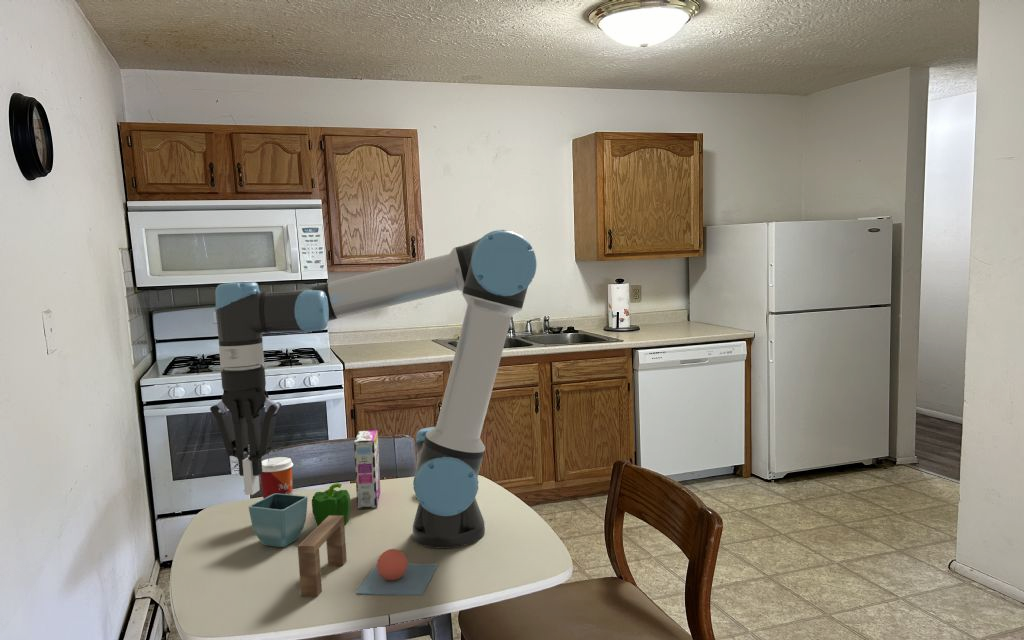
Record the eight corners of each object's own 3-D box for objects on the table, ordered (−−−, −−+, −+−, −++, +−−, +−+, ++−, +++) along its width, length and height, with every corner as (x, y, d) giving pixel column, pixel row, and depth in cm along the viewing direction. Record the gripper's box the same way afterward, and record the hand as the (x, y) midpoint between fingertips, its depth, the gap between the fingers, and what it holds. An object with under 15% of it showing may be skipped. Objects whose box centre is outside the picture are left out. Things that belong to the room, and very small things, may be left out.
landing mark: (437, 565, 135) (437, 564, 135) (422, 595, 123) (422, 594, 123) (376, 564, 137) (376, 563, 137) (355, 594, 125) (355, 593, 125)
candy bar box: (378, 508, 168) (374, 440, 166) (356, 510, 167) (352, 442, 166) (381, 492, 179) (378, 429, 177) (361, 494, 178) (357, 430, 177)
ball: (395, 538, 132) (376, 558, 133) (386, 550, 127) (366, 571, 127) (416, 558, 132) (398, 578, 133) (408, 571, 126) (389, 592, 127)
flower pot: (311, 536, 152) (308, 495, 151) (285, 553, 144) (282, 510, 143) (277, 532, 155) (274, 492, 154) (250, 548, 147) (247, 506, 146)
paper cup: (290, 526, 158) (286, 465, 157) (256, 527, 158) (252, 466, 157) (301, 513, 166) (297, 455, 165) (269, 515, 166) (265, 456, 165)
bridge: (346, 561, 139) (343, 515, 138) (317, 596, 124) (314, 546, 123) (331, 560, 139) (328, 515, 138) (301, 596, 125) (297, 546, 124)
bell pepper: (304, 533, 154) (301, 488, 153) (326, 519, 162) (323, 477, 161) (338, 537, 151) (335, 491, 150) (358, 522, 159) (355, 479, 158)
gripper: (197, 371, 127) (208, 499, 129) (266, 369, 125) (276, 499, 127) (220, 364, 134) (229, 485, 136) (285, 362, 133) (294, 485, 135)
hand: (252, 492), depth 132 cm, fingers closed
